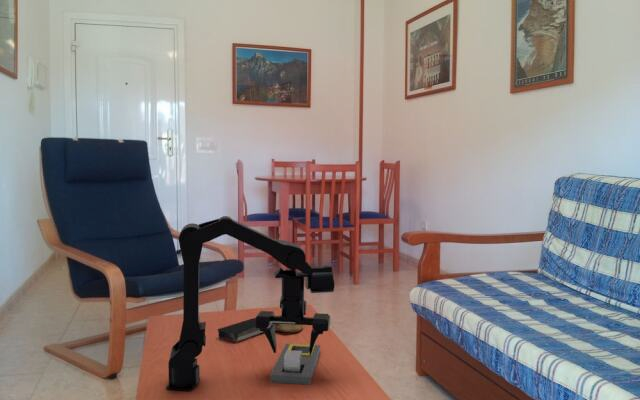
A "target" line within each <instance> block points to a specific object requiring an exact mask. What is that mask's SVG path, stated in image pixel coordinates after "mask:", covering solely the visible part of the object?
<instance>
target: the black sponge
mask: <svg viewBox="0 0 640 400" xmlns="http://www.w3.org/2000/svg"><path fill="white" fill-rule="evenodd" d="M217 331H218V332H217V333H218V337H219V339H224V340H228V341H230V342H236V343H237V342H239V341H242V340H246V339H249V338H251V337H253V336H256V335H259V334H261V333H264V332H263V331H260V328H255V317H254V318H250V319H247V320H244V321H240V322H237V323H234V324H230V325H227V326H224V327H219V328H218V329H217Z"/></svg>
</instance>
